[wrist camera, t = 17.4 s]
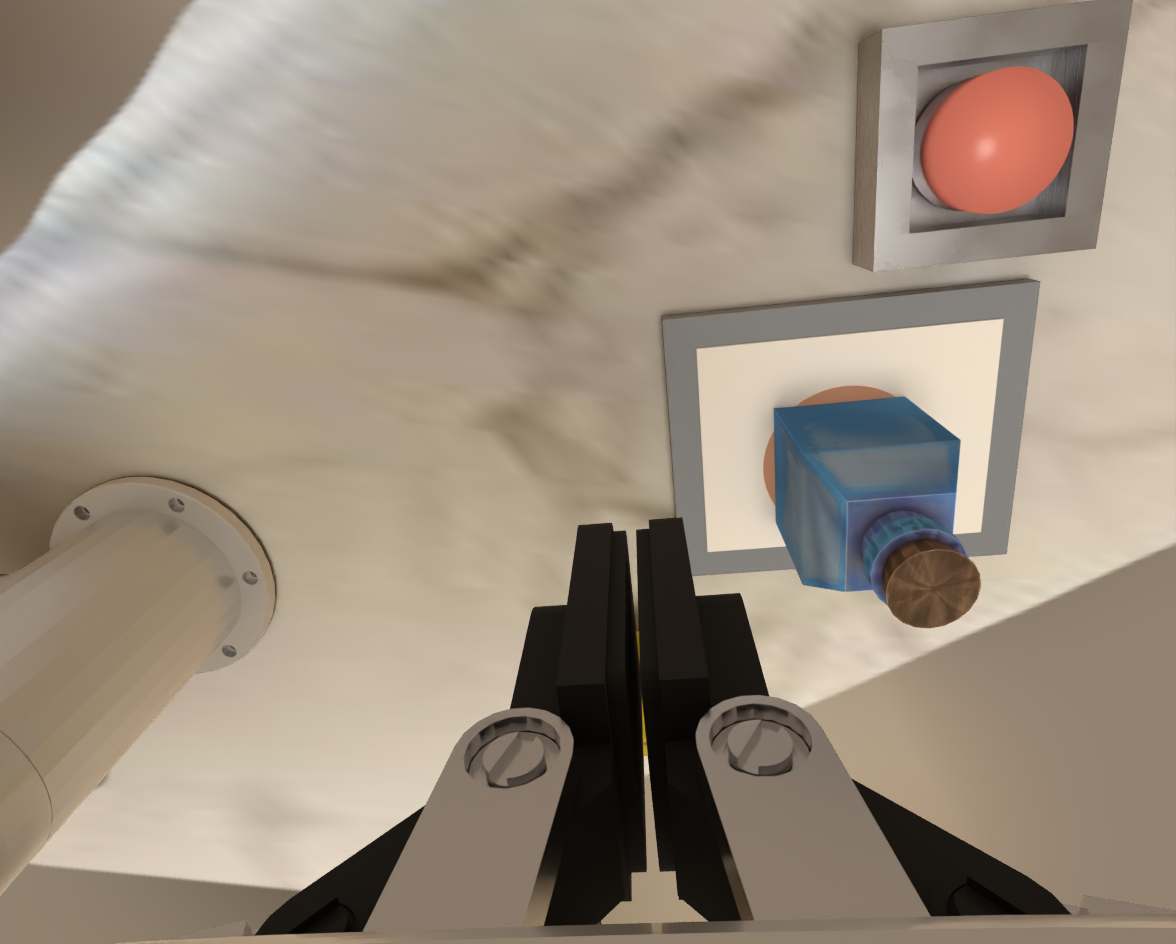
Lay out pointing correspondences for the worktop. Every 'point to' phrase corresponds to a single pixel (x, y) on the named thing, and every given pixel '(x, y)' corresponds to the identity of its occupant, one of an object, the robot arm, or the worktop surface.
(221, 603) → the robot arm
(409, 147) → the worktop surface
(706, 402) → the board
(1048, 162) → the button
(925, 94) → the button base
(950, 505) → the perfume bottle
